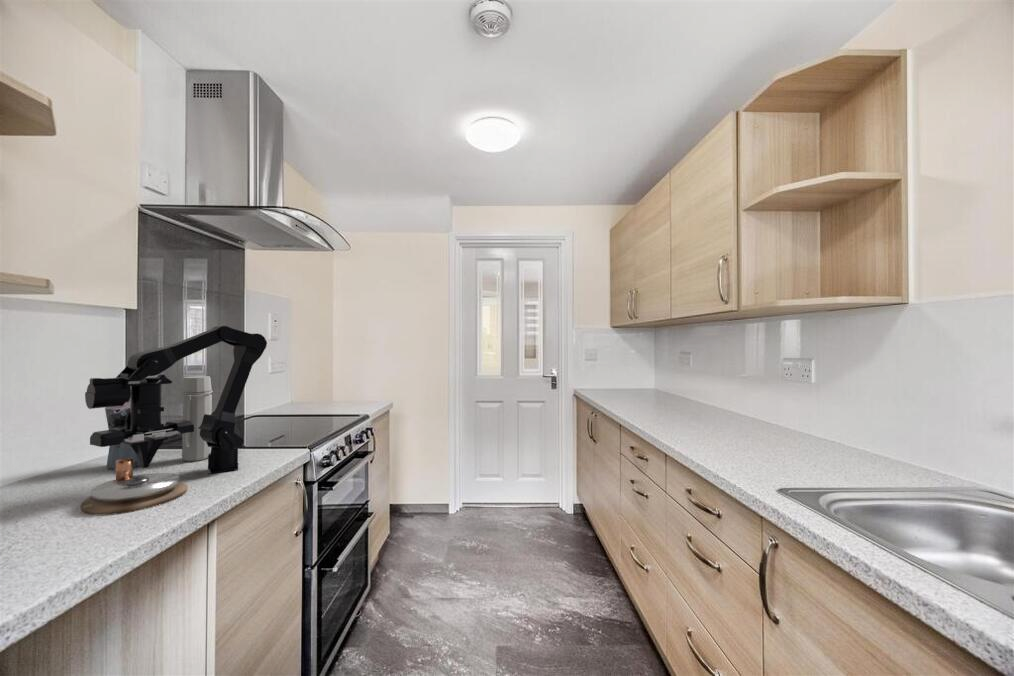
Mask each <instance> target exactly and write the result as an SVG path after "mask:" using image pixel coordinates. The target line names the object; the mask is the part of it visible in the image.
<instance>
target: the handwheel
mask: <svg viewBox="0 0 1014 676" xmlns="http://www.w3.org/2000/svg"><path fill="white" fill-rule="evenodd" d="M179 482H180V475H179V474H177V473H173V472H153V473H151V472H150V473H143V474H137V475H134V467H133V458H123V459H118V460H116V470H115V479H112V480H110V481H107V482H103V483H101V484H98V485H96V486H94V487H92V489H91V491H90V497H91V499H92V500H93V501H97V502H119V501H128V500H134V499H140V498H144V497H149V496H153V495H156V494H160V493H163V492H166V491H168V490H171V489H173V488H175V487H176V486H178V484H179Z"/></svg>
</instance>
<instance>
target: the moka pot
mask: <svg viewBox="0 0 1014 676" xmlns="http://www.w3.org/2000/svg"><path fill="white" fill-rule="evenodd" d="M130 405H131V401H130V400H129V401H128V402H125V404H124V405H123V406H114V407H104V411H105V418H106V422H107V427H108V429H107V430H112V429H113V430H119V428H112V429H111V428H109V416H110V415H112V414H119V413H120V414H122V416H125V415H127V410H128V408H130ZM126 431H130V430H126ZM136 434H137V433H136ZM124 440H125V439H124ZM108 447H109V448H108V454H107V459H106V468H107V469H108V468H109V469H108V470H111V469H116V460H118V459H123V458H133V468H136V466H137V467H140V466H141V464H140V462H139V460H138V458H137V455H136V453H135V452H134V450H133V449H132V447H131V446H130V445H129V444H124V443H121V444H118V445H112V446H108Z"/></svg>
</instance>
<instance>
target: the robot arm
mask: <svg viewBox="0 0 1014 676" xmlns="http://www.w3.org/2000/svg"><path fill="white" fill-rule="evenodd" d="M221 342H223V343H225V344H227V345H230V346H232V347H233V352H232V353H233V359H234V360H233V363H232V366H231V369H230V371H229V374H228V376H227V379H226V381H225V385H224V388H223V389H222V392H221V394H220V397H219V399H218V403H217V405H216V408H215V409H214V411H212V414H211V415H208V414H205V415H204V417H203V421H202V424H201V426H200V427H199V428H198V429H201V430H200V436H201V438H202V439H203V440H204V441H206V443H207V445H208V447H211V453H209V455H208V458H207V470H208V471H209V474H215V473H223V472H231V471H232V472H233V471H238V470H239V448H242V447H243V444H244V441H245V440H244V438H242V437H241V436H239V435H238V434H237V433H235V431H236V426H237V420H236V419H237V418H236V411H237V409H238V406H239V403H240V401H241V400H240V399H241V398H242V394H243V392H244V389H245V387H246V384H247V381H248V379H249V376H250V373H251V370H252V368H253V365H254V364H255V363H256V362H257V361H258V360H259V359H260V358H261V357H262V355H264V351H265V350H266V348H267V345H268V341H267V340H266V337H265V336H264V335H262V334H261V333H250V332H246V331H242V330H240V329H239V330H238V329H236V328H232V327H230V326H228V325H216V326H214V327H212V328H211V329H207V330H205V331H203V332H201V333H198V334H195V335H193V336H191V337H189V338H186V339H183V340H179V341H177V342H175V343H173V344H170V345H167V346H162V347H157V348H151V349H148V350H144V351H139V352H135V353H134V354H131V355H130V356H129V358H128V360H127V365H126V366H125V367H124V368H123V370H121V372H120V373H119V374H117V376H116V377H109V378H108V377H106V378H101V377H100V378H99V377H91V378H89V384H88V385H87V388H86V391H85V392H84V399H85V405H86V407H87V408H88V409H89V410H90V409H91V410H93V409H101V408H104V409H105V407H114V406H123V405H124V404H125V402H128V401H129V402H131V405H130V408H128V410H127V415H125V416H122V414H120V413H119V414H112V415H110V416H109V428H111V429H112V428H119V430H113V429H112V430H109V429H105V430H99V431H93V432H92V434H91V435H90V437H89V445H91V446H94V447H99V448H103V447H104V448H105V447H109V446H112V445H118V444H121V443H124V444H129V445H130V446H131V447H132V449H133V450H134V452H135V453H136V455H137V458H138V460H139V462H140V464H141V465H140V466H141V468H143V469H146V468H149V466H150V464H151V462H152V461H153V459H154V457H155V455H156V453H157V452H158V451H159V450H160V448H161V446H162V444H163V443H164V442H165V441H166V440H169V436H166V434H167V433H172V432H178V433H179V434H181V435H182V433H188V432H193V431H194V424H193V422H191V421H188V420H182V419H177V420H169V421H166V422H165V423H162V412H164V411H165V407H164V406H162V385H170V384H172V383H173V380H171V379H170V378H168V377H167V376H166V375H165V374H164V373H163V372H164V371H166V370H168V369H170V368H171V367H172V366H174V365H175V364H176V363H177V362H178V361H181V360H182V359H184V358H186V357H189V356H191V355H193V354H195V353H198V352H201V351H202V350H204V349H207V348H209V347H211V346H214V345H217V344H219V343H221ZM162 373H163V374H162ZM129 382H130V383H129ZM126 430H130V431H126ZM136 433H137V434H136ZM124 439H125V440H124Z"/></svg>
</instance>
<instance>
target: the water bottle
mask: <svg viewBox="0 0 1014 676" xmlns="http://www.w3.org/2000/svg"><path fill="white" fill-rule="evenodd" d="M213 392H214V391H213V389H212V380H211V376H208V375H207V376H206V375H205V376H204V375H201V376H200V375H199V376H198V375H197V376H183V381H182V388H181V393H180V396H181V397H182V419H181V420H188V421H191V422H193V424H194V431H193V432H188V433H182V434H181V436H182V437H181V439H182V442H181V448H182V449H181V460H183V461H185V462H190V461H192V462H200V461H204V460H206V459H207V460H208V455H209V453H211V448H212V447H208V445H207V443H206V441H204V440H203V439H202V438H201V436H200V430H201V429H198V428H199V427H200V426H201V424H202V421H203V417H204V415H205V414H208V415H211V414H212V413H213V411H212V409H213V407H212V405H213V403H212V401H213V395H212V393H213ZM199 460H200V461H199Z"/></svg>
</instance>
